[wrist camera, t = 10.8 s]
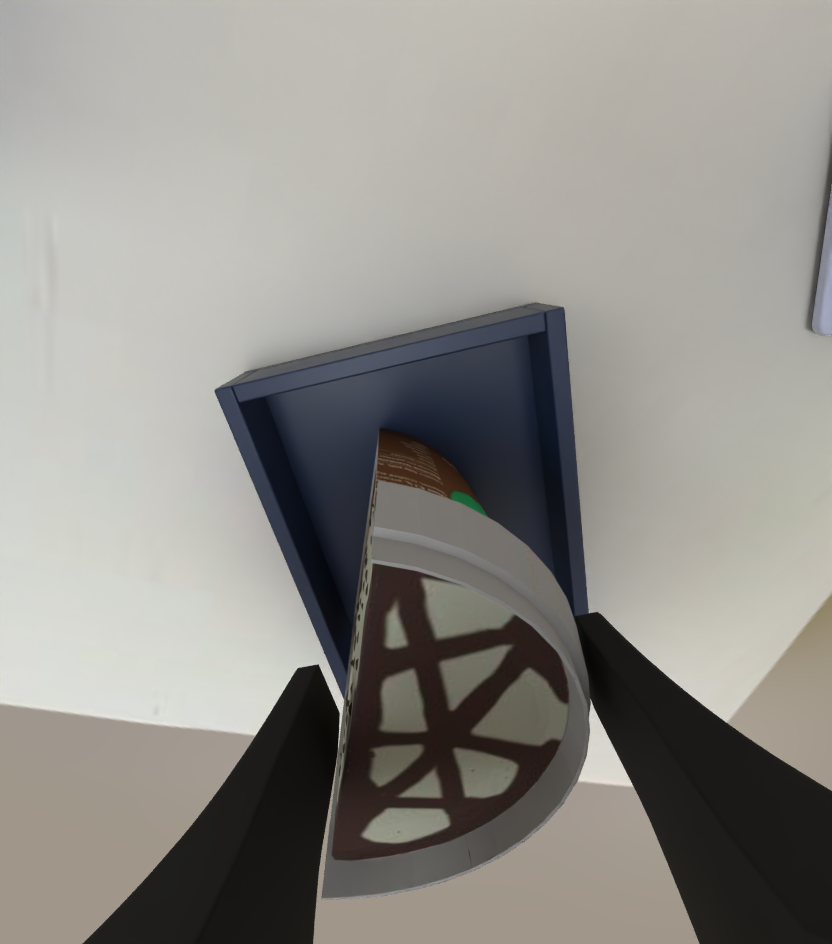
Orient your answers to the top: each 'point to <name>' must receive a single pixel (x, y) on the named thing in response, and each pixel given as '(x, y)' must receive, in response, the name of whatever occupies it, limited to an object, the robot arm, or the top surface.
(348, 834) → the food container
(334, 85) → the top surface
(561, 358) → the rectangular tray
